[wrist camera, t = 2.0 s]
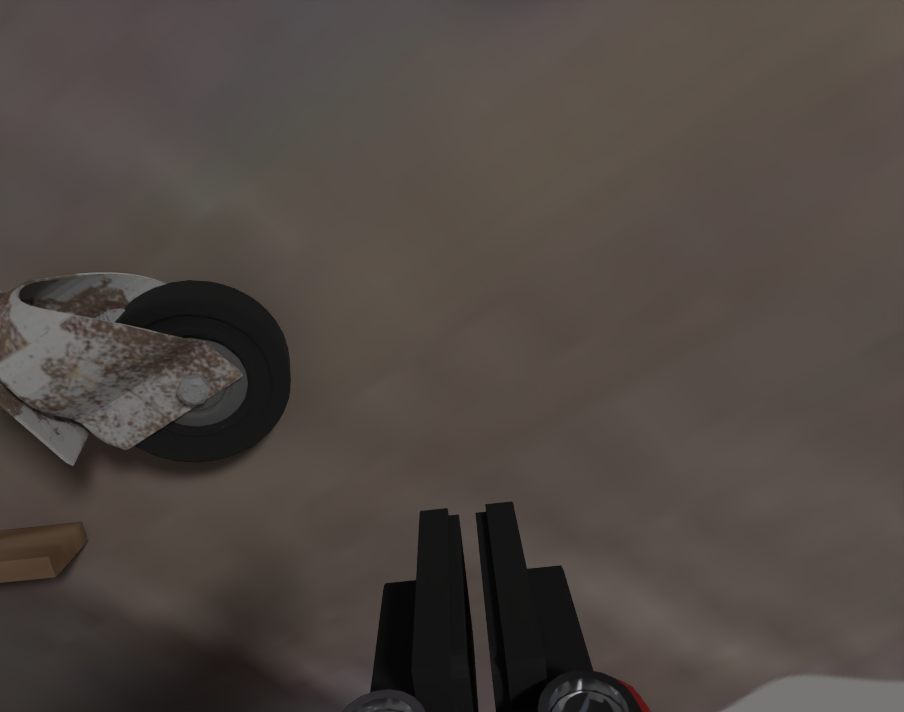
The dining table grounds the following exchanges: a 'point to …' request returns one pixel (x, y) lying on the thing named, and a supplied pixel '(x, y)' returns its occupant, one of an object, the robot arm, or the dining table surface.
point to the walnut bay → (39, 551)
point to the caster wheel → (141, 365)
